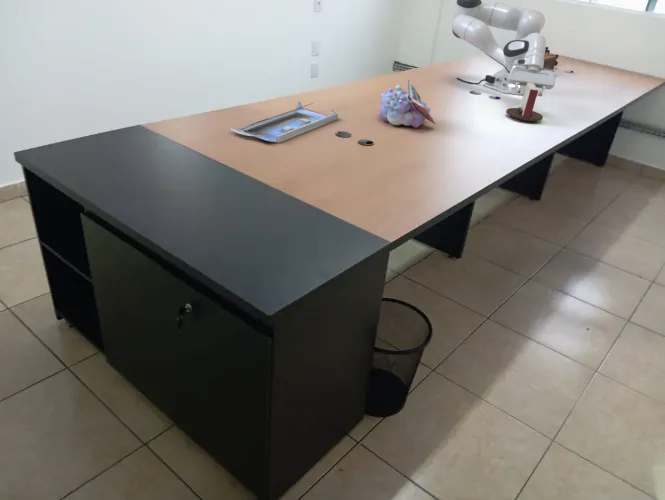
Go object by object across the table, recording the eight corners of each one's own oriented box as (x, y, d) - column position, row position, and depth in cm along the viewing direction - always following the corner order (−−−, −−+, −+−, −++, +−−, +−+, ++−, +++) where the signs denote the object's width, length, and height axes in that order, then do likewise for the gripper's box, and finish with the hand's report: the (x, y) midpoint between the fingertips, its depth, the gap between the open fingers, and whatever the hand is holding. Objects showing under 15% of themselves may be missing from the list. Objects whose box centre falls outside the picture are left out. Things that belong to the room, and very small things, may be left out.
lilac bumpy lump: (373, 99, 230) (382, 67, 214) (423, 100, 233) (435, 69, 217) (380, 138, 221) (389, 108, 205) (431, 139, 224) (444, 109, 208)
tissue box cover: (530, 67, 351) (535, 51, 346) (552, 72, 343) (557, 56, 338) (513, 71, 333) (517, 54, 328) (535, 77, 326) (540, 59, 321)
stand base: (504, 116, 246) (505, 113, 245) (517, 112, 254) (518, 110, 253) (529, 124, 239) (529, 121, 239) (541, 120, 247) (542, 117, 246)
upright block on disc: (504, 107, 253) (512, 79, 247) (539, 112, 252) (548, 84, 245) (507, 117, 240) (515, 87, 233) (545, 123, 238) (554, 93, 232)
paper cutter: (337, 119, 218) (339, 105, 215) (267, 147, 184) (268, 131, 181) (300, 108, 225) (301, 94, 222) (226, 133, 191) (226, 117, 188)
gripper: (554, 74, 250) (550, 101, 247) (508, 67, 252) (504, 94, 249) (558, 66, 244) (555, 93, 241) (511, 59, 246) (508, 86, 243)
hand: (529, 94), depth 245 cm, fingers open, 8 cm apart
